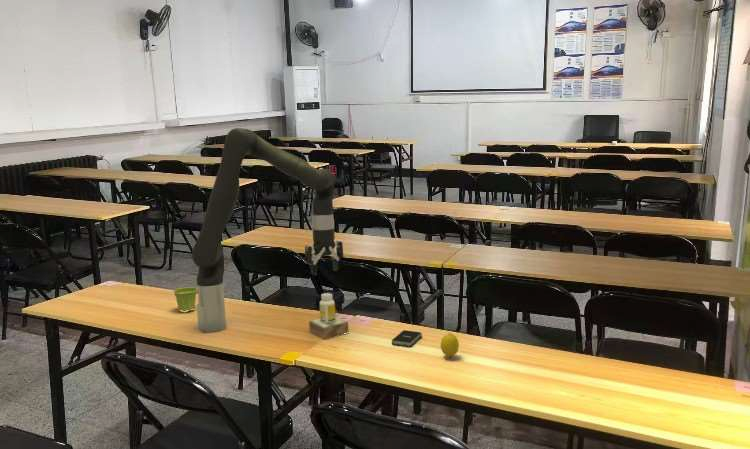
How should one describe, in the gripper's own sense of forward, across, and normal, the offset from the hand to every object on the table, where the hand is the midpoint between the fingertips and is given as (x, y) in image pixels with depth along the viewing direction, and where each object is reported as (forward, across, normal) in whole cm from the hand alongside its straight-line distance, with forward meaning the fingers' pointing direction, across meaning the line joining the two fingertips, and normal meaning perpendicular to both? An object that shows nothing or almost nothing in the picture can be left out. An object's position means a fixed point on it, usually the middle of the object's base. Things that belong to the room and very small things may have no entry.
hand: (324, 272), depth 209 cm
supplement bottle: (+18, 0, 0) cm, 18 cm away
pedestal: (+22, 0, +1) cm, 22 cm away
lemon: (+22, -18, +44) cm, 53 cm away
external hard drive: (+22, -17, +25) cm, 37 cm away
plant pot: (+23, +30, -59) cm, 70 cm away
